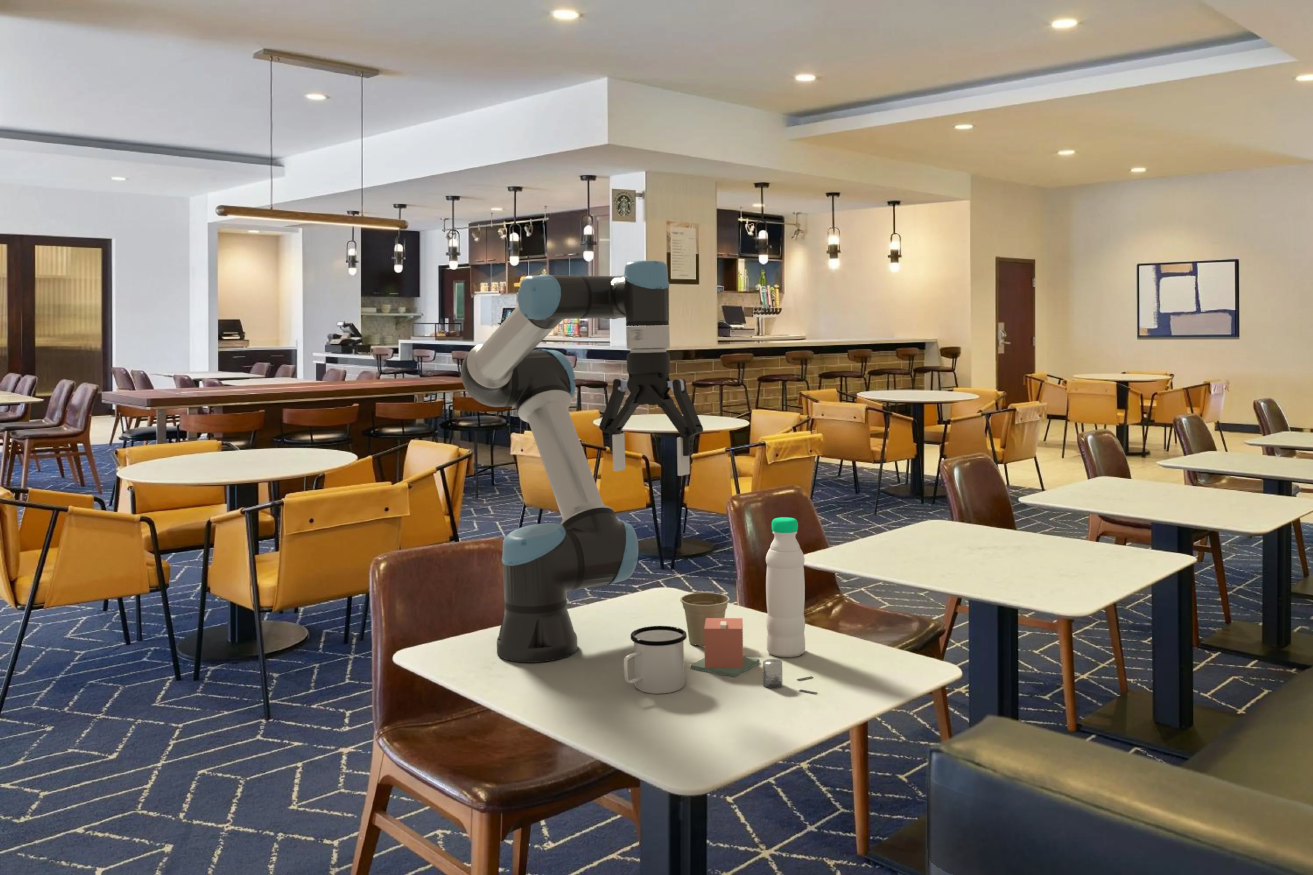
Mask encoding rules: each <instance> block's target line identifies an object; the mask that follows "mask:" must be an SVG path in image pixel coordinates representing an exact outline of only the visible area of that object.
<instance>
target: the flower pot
mask: <svg viewBox="0 0 1313 875" xmlns="http://www.w3.org/2000/svg"><path fill="white" fill-rule="evenodd" d="M680 602H681V604H682V608H683V610H684V613H685V614H684V615H685V622H686V628H687V637H688V641H689V644H691V645H692V646H699V647H702V648H705V641H704V627H705V621H706V618H726V610H727V609H728V603H729V602H730V597H729V596H728V595H726V594H722V593H717V592H709V591H708V592H705V591H703V592H694V593H688V594H685V595H683V596H681V597H680Z"/></svg>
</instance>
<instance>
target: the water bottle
mask: <svg viewBox="0 0 1313 875" xmlns="http://www.w3.org/2000/svg"><path fill="white" fill-rule="evenodd" d="M798 529H799V523H798V520H797V519H796V518H793V517H786V516H785V517H784V516H783V517H782V516H781V517H776V518H773V519H772V521H771V531H772V534H773V536H774V537H773V540H772V542H771V543H770V546H769V547H770V548H769V549H768V551H767V553H766V556H765V562H766V576H765V594H766V595H765V597H766V598H765V599H766V611H767V612H766V613H767V615H766V631H767V634H766V650H767V652H768V653H769V654H770V655H771V656H773V657H774V656H775V657H778V658H795V657H798V656H799V657H800V656H801V655H803V654H804V653H805V651H806V636H805V628H806V619H805V618H806V617H805V614H804V613H805V603H806V602H805V599H806V598H805V594H806V593H805V590H806V588H805V587H806V586H805V583H806V582H805V569H804V568H805V567H804V565H805V562H806V560H805V559H806V558H805V555H804V553H803V550H802V549H801V546H800V544H799V542H798V540H797V538H796V535H797V534H798Z"/></svg>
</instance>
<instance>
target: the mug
mask: <svg viewBox="0 0 1313 875" xmlns="http://www.w3.org/2000/svg"><path fill="white" fill-rule="evenodd" d="M687 637H688V633H687V632H686V630H684V629H682V628H680V627H676V626H669V625H651V626H644V627H640V628H637V629H635V630H633V631H631V633H630V640H631V641H632V642H633V651H634V652H633V653H630V654H627V655H626V656H625V657H624V659H623V674H624V675H623V676H624V681H625V682H626V683H628V684H634V687H635V688H636V689H638V690H639V691H641V692H643V693H647V694H652V695H653V694H655V695H659V694H660V695H662V694H663V695H664V694H671V693H675V692H677V691H679V690H681V689H682V688H684V686H685V653H684V652H685V651H684V650H685V648H684V647H685V646H684V645H685V644H684V643H685V642H684V641H685V640H686V639H687ZM631 658H634V661H633V662H634V666H633V667H634V678H632V679H629V668H628V667H629V660H630V659H631Z"/></svg>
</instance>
